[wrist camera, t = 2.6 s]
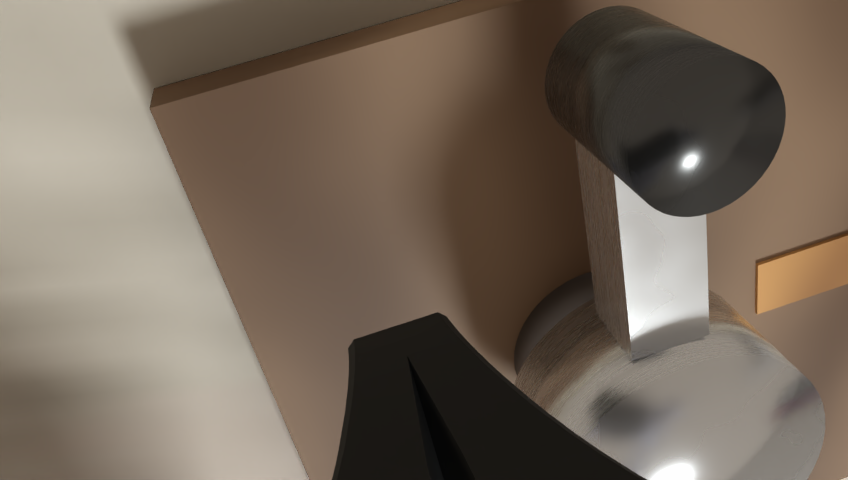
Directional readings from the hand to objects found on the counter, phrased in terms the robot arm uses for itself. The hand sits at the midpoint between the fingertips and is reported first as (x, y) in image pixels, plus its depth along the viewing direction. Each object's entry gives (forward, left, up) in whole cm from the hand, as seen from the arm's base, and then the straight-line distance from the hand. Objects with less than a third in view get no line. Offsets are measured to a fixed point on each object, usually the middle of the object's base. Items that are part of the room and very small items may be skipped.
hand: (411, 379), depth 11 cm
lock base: (+5, -6, -7) cm, 11 cm away
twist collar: (+5, -3, -4) cm, 7 cm away
